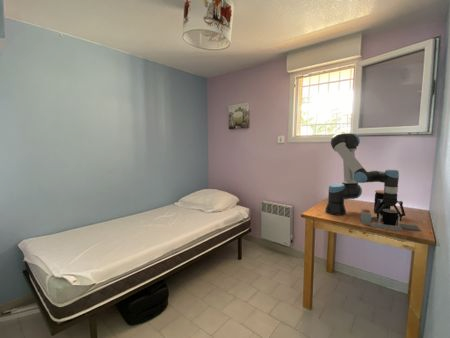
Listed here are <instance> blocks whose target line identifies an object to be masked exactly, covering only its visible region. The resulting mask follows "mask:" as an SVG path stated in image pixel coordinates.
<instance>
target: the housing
mask: <svg viewBox="0 0 450 338" xmlns="http://www.w3.org/2000/svg"><path fill="white" fill-rule="evenodd" d="M363 209H364V208H363ZM363 209H362V208H361V210H360V220H359V221H360V224H361V225H365V226H366V225H367V226H370V227H372V228H379V229H386V230H392V231H398V232H399V231H400V232H401V231H402V230H403V229H402V227H400V226H398V225H395V226H393V225H385V224H383V221H382V217H380V224H379V223H378V218H377V216H372V215H373V214H372V211H371V210H370V212H369V213H368V212H364V211H363ZM372 221H376V222H377V223H376V222H372ZM381 222H382V223H381ZM396 224H397V222H396Z"/></svg>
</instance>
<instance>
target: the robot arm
mask: <svg viewBox="0 0 450 338" xmlns="http://www.w3.org/2000/svg"><path fill="white" fill-rule="evenodd" d="M360 141H361V139H360V137H359V135H357V134H356V133H351V132H348V133H347V132H346V133H340V132H339V133H336V134H334V135H333V136H331V139H330V146H331V148H332V149H333V152H336V153H337V154H338V155H339V156H340V158H341V160H342V161H343V164H342V166H343V181H341V182H342V183H339V182H337V183H331V184H330V185H329V186H328V190H327V191H328V198H327V204H326V206H325V213H327V214H329V215H334V216H345V215H346V214H347V210H346V209H347V208H346V207H345V200H355V199H358V198H359V197H361V196H362V192H363V190H362V186H361V185H360V184H365V183H383V185H384V186H383V190H384V197H383V200H381V199H378V203H377V205H376V207H375V210H374V209H373V212H374V214H376V213H377V214H376V217H377V218H378V221H377V224H381V221H380V218H381V215H380V212H381V211H382V210H383V209H384V208H385V207H386V206H390V207H393V208H394V210H396V211H397V212H398V218H397V223H396V226H399V223H400V222H402V217H406V211H405V209H404V205H403V204H404V202H403V201H402V200H398V192H399V177H400V173H399V170H398V169H385V170H384V171H379V170H370V171H367V170H366V169H365V168H364V167H363V165H362V164H361V162H360V161H359V160H358V159H357V158H356V154H355V152H356V151H357V147H358V146H359V144H360ZM359 183H360V184H359ZM382 201H383V202H384V204H383V205H382V207H381V208H380V209H379V210H378V207H379V205H380V203H381V202H382ZM397 204H398V205H399V208H400V210H401V211H400V210H399V209H398V207H397V206H396V205H397ZM377 210H378V211H377Z"/></svg>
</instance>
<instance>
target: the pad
mask: <svg viewBox="0 0 450 338" xmlns="http://www.w3.org/2000/svg"><path fill="white" fill-rule="evenodd" d="M399 226H400V227H402V229H401V230H406V231H407V230H408V231H412V232H413V231H415V232H420V231H421V232H422V230H421V228H420V227H419V226H418V225H414V224H407V223H400V222H399Z"/></svg>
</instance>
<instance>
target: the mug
mask: <svg viewBox="0 0 450 338" xmlns="http://www.w3.org/2000/svg"><path fill="white" fill-rule="evenodd" d="M398 216H399V214H398V212H397V211H396V209H391V208H390V209H383V210H382V215H381V218H382V221H383V222H382V224H385V225H393V226H397V223H396V222H397V218H398Z"/></svg>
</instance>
